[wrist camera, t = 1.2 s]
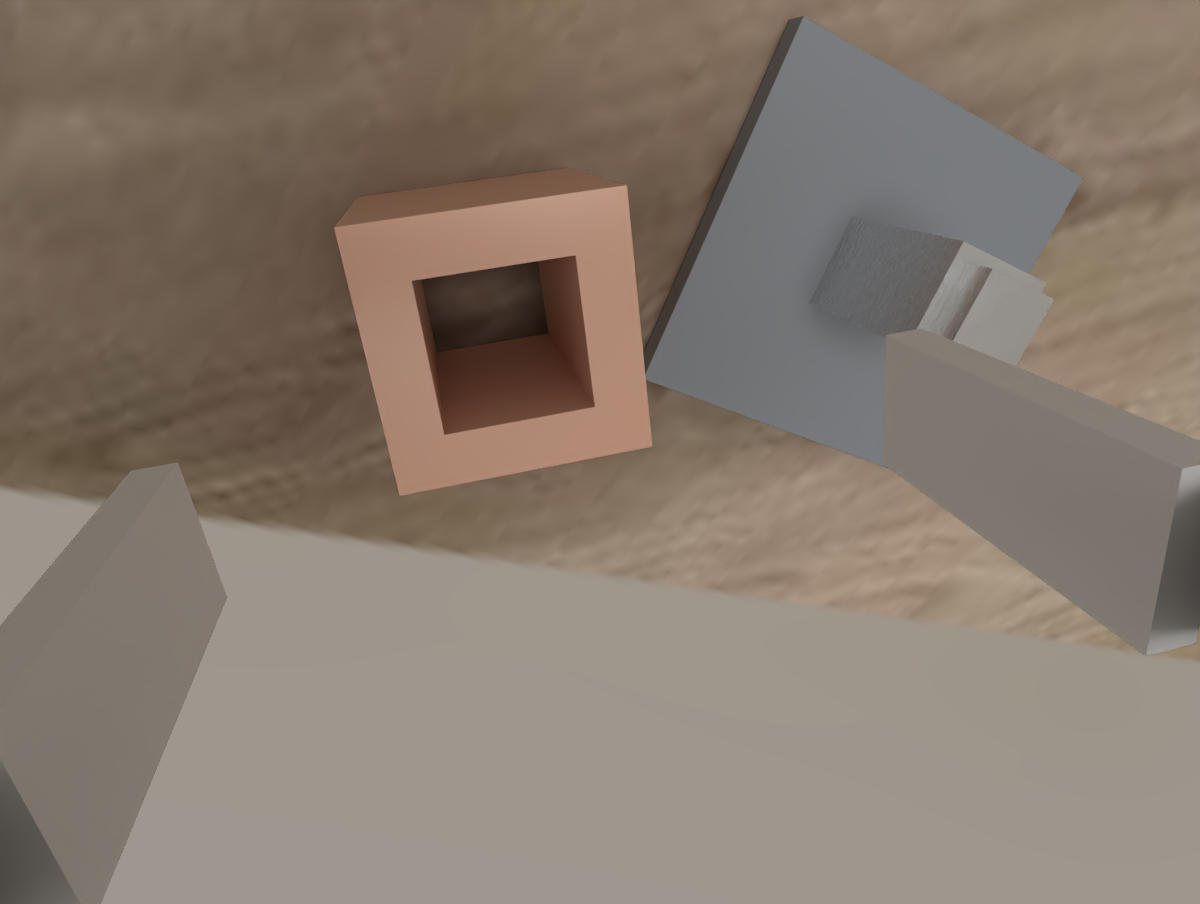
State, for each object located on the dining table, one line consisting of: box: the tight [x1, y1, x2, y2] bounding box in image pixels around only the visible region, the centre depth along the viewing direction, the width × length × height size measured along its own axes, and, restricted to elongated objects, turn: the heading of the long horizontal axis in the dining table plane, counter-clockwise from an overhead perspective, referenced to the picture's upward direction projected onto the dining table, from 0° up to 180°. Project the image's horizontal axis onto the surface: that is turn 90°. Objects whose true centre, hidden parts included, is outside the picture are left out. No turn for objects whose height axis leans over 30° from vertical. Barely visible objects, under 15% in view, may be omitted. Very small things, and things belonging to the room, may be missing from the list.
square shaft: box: [810, 217, 1054, 366], centre depth 28 cm, size 4×4×8 cm
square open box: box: [334, 168, 652, 496], centre depth 26 cm, size 8×8×9 cm
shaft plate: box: [643, 16, 1083, 469], centre depth 33 cm, size 14×14×1 cm
